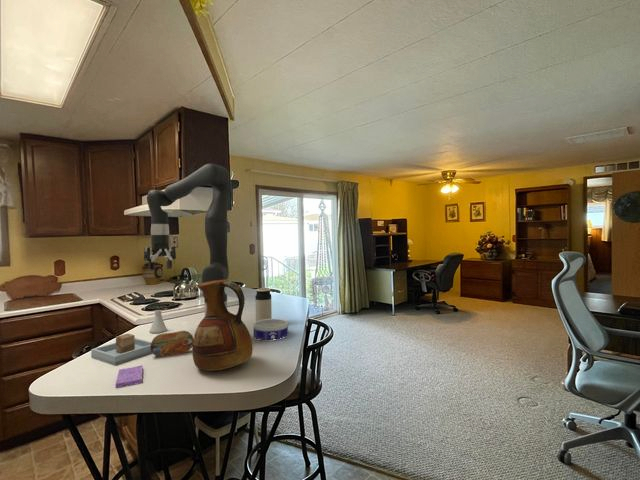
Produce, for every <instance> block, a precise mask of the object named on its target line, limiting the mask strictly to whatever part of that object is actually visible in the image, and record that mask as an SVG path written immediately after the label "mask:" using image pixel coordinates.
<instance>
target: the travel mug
mask: <svg viewBox="0 0 640 480" xmlns="http://www.w3.org/2000/svg"><path fill="white" fill-rule="evenodd" d="M255 291H256V294H255V299H254V300H255V322H256V321H259V320H264V319H273V317H272V316H273V314H272V293H271V291H272V290H271V288H269V287H268V288H267V287H262V288H257V289H255Z"/></svg>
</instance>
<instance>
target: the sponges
mask: <svg viewBox="0 0 640 480" xmlns="http://www.w3.org/2000/svg"><path fill="white" fill-rule="evenodd" d="M143 370H144V368H143V364H141V365H137V366H132V367H127V368H121V369H120V368H119V369H118V372H117V377H116V380H115V389H117V387H118V388H121V386H123V387H127V386H126V385H128V386H131V385H130V384H133V385H136V384H135V383H138V384H141V383H140V382H142V383H143Z"/></svg>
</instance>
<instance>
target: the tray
mask: <svg viewBox="0 0 640 480" xmlns="http://www.w3.org/2000/svg"><path fill="white" fill-rule="evenodd" d="M151 342H152V341H149V340H145V339H141V338H136V337H135V350H132V351H128V352H125V353H122V354H120V353H117V352H116V342H113V343H109V344H105V345H102V346H98V347H94V348H92V349H90V354H91V355H90V356H91V358H93V359H95V360H98V361H101V362H104V363H106V364H107V363H108V364H110V365H112V366H113V365H114V366H116V365H119V364H120V365H121V364H123V363H126V362H129V361H132V360H135V359H138V358H141V357H145V356H147V355H150V354H153V353H152V352H151V348H150V346H151Z"/></svg>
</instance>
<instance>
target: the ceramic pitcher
mask: <svg viewBox="0 0 640 480" xmlns="http://www.w3.org/2000/svg"><path fill="white" fill-rule="evenodd" d="M196 287H197V288H198V289H200V290H201V292H202V294H203V293H204V296H205V300H206V304H207V310H206V316H205V315H204V317H203V318H202V319H201V320H200V321H199V323H198V325H197V327H196V329H195V332H194V336H193V338H194V340H193V346H192V348H191V350H192V354H191V355H192V359H193V363H194V365H195V367H196V368H198V369H199V370H202V371H221V370H226V369H231V368H232V367H233V368H234V367H236V366H238V365H242V364H244V363H245V362H247V361H248V360H250V358H251V357H252V356H253V348H254V347H253V340H252V336H251V334H250V331H249V329H248V327H247V326H246V324H245V323H244V322H243V320H242V316H243V312H244V311H243V310H244V308H245V300H246V298H245V294H244V291H243V289H242V287H241V286H240V285H239V284H237V283H236V282H235V281H233V280H229V279H227V280H226V279H224V280H217V281H210V282H205V283H202V282H200V283H197V284H196ZM225 287H226V288H228V289H230V290H232V291H233V292H234V293H235V295H236V297H237V300H238V310H237V313H236V314H234V313H232V312H230V311H229V310H228V307H227V308H226V306H225V302H224V296H223V292H224V290H225Z"/></svg>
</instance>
